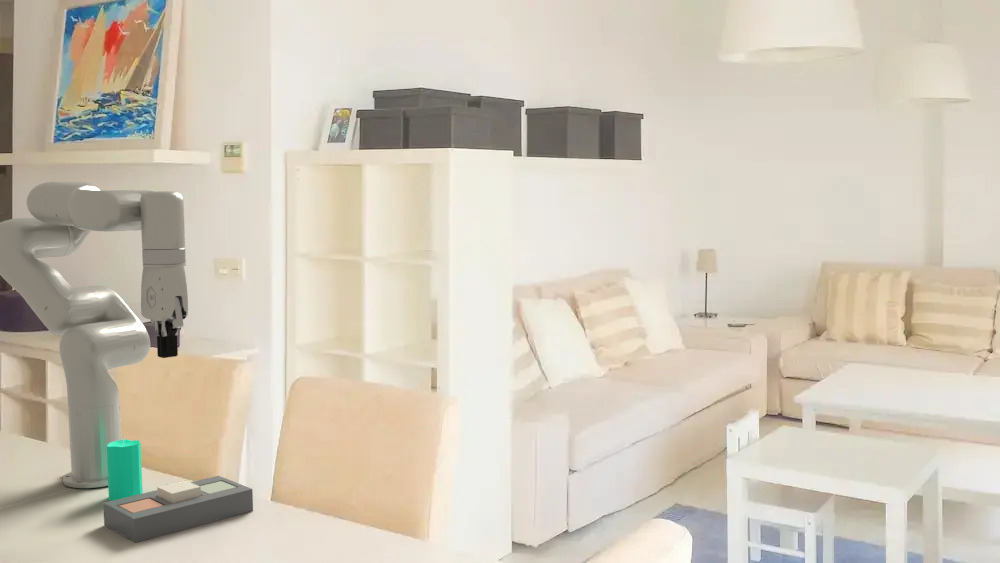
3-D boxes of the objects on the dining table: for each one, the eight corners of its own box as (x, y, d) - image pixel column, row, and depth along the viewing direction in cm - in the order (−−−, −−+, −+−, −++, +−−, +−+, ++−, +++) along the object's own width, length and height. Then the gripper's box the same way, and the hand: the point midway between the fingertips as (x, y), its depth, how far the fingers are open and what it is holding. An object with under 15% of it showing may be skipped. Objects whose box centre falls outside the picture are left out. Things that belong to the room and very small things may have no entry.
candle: (131, 503, 179) (128, 439, 178) (102, 501, 180) (99, 438, 179) (148, 493, 185) (146, 431, 184) (120, 491, 186) (118, 430, 185)
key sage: (195, 504, 175) (194, 487, 175) (221, 497, 179) (221, 481, 179) (209, 511, 172) (209, 493, 171) (236, 504, 176) (236, 487, 175)
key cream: (158, 504, 170) (157, 487, 170) (186, 497, 174) (185, 480, 174) (172, 511, 167) (171, 493, 166) (201, 504, 170) (200, 486, 170)
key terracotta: (119, 523, 165) (118, 505, 165) (149, 516, 169) (149, 498, 169) (133, 531, 162) (133, 512, 161) (164, 523, 166) (163, 505, 165)
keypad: (104, 525, 167) (103, 502, 167) (219, 496, 183) (218, 475, 182) (135, 542, 159) (134, 518, 158) (253, 510, 174) (252, 488, 174)
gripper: (126, 257, 180) (130, 354, 182) (163, 261, 170) (167, 364, 171) (164, 255, 185) (167, 349, 187) (203, 259, 175) (206, 359, 177)
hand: (167, 356), depth 179 cm, fingers closed
